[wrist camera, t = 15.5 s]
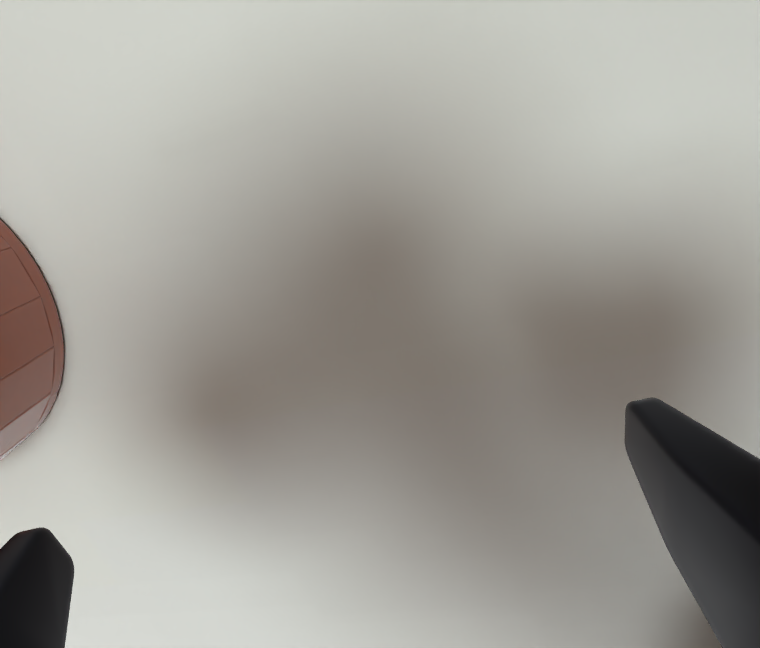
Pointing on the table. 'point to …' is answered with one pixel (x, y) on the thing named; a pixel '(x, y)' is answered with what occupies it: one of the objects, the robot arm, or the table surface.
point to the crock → (25, 344)
